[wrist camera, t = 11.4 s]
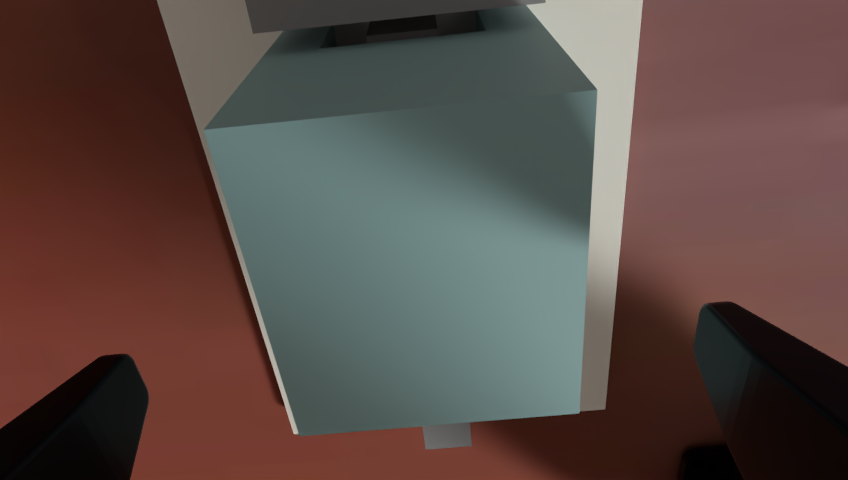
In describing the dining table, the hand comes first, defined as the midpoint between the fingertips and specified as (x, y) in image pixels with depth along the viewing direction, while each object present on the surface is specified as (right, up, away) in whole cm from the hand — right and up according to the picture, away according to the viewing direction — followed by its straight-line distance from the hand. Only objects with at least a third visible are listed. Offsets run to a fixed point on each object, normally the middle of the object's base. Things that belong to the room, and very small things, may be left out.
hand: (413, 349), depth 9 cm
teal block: (0, +4, +7) cm, 9 cm away
